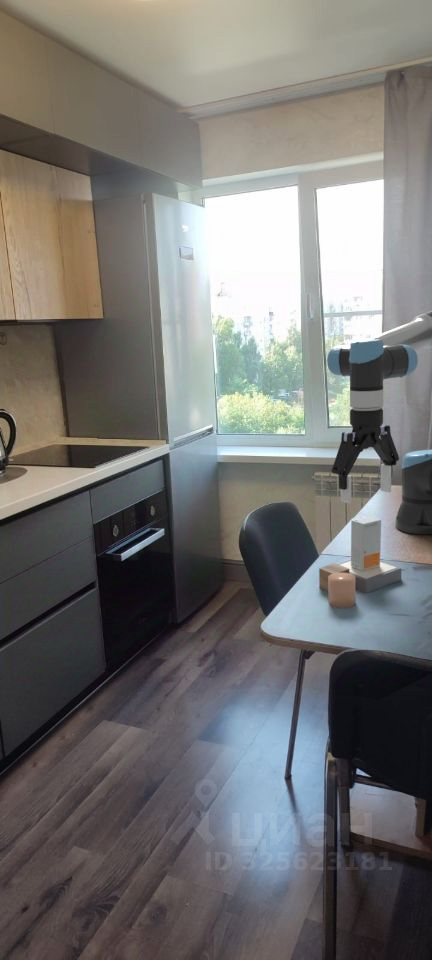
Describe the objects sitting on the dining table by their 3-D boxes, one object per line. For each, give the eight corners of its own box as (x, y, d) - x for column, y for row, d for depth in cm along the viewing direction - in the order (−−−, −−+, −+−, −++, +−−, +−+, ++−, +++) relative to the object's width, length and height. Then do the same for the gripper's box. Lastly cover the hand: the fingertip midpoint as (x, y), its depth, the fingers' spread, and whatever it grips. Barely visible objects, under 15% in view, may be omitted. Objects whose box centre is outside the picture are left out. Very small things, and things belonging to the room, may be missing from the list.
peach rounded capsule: (341, 594, 156) (341, 570, 155) (361, 602, 152) (361, 578, 150) (322, 601, 153) (322, 577, 152) (341, 610, 148) (341, 584, 147)
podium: (364, 566, 173) (364, 554, 172) (401, 579, 163) (401, 567, 162) (330, 578, 166) (330, 566, 166) (366, 592, 157) (366, 580, 156)
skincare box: (362, 572, 161) (362, 524, 158) (350, 566, 165) (350, 520, 162) (381, 566, 164) (381, 519, 161) (369, 561, 167) (369, 515, 165)
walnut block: (334, 582, 164) (334, 563, 163) (349, 588, 160) (349, 568, 159) (319, 587, 161) (319, 568, 160) (334, 594, 157) (334, 574, 156)
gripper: (390, 400, 165) (389, 484, 170) (315, 413, 151) (316, 503, 157) (415, 402, 159) (413, 489, 164) (339, 416, 145) (340, 510, 151)
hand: (366, 496), depth 160 cm, fingers open, 13 cm apart
